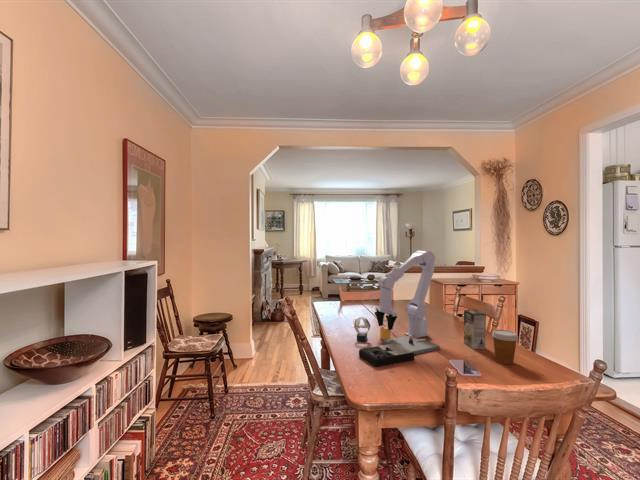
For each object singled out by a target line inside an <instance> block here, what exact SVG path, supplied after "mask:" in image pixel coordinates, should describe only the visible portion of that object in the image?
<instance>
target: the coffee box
mask: <svg viewBox="0 0 640 480" xmlns="http://www.w3.org/2000/svg"><path fill="white" fill-rule="evenodd" d="M486 328H487V314H486V313H484V312H482V311H481V310H477V309H464V310H463V344H465V345H466V346H468V347H470V348H471V349H472V350H485V349H486V339H487V338H486V335H487V334H486V332H487V329H486Z"/></svg>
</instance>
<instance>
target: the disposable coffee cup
mask: <svg viewBox="0 0 640 480" xmlns="http://www.w3.org/2000/svg"><path fill="white" fill-rule="evenodd" d="M491 336H492V340H493V348H494V356H495V361H496V362H497V363H499V364H503V365H513V364H514V361H515V353H516V348H517V342H518V341H517V340H518V339H519V336H518V334H517V333H516V331H512V330H508V329H507V330H506V329H494V330H493V331H492V332H491Z"/></svg>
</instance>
